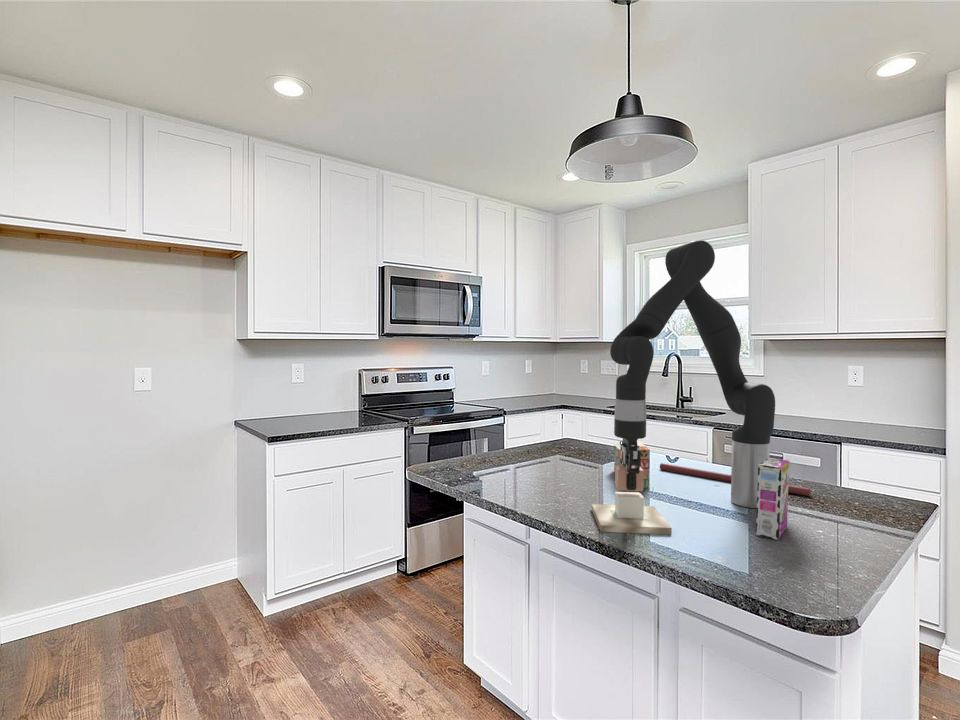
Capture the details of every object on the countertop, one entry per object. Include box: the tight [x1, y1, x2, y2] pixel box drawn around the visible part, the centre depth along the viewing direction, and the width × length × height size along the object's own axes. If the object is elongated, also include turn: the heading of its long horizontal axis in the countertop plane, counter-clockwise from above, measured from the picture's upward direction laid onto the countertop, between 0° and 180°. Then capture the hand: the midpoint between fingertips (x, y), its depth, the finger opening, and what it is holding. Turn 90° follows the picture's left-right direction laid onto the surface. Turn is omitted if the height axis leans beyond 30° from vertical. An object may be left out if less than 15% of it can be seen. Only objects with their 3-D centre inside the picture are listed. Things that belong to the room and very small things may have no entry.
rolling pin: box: [659, 462, 812, 497], centre depth 164 cm, size 45×3×3 cm, turn 45°
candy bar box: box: [755, 457, 790, 541], centre depth 120 cm, size 11×5×16 cm, turn 141°
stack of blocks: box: [613, 440, 651, 489], centre depth 167 cm, size 21×6×12 cm, turn 177°
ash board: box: [591, 503, 673, 535], centre depth 127 cm, size 16×16×2 cm
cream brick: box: [614, 491, 645, 518], centre depth 127 cm, size 6×4×5 cm
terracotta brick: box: [614, 465, 644, 492], centre depth 127 cm, size 6×4×5 cm
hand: (629, 486), depth 127 cm, fingers closed on terracotta brick, 4 cm apart
